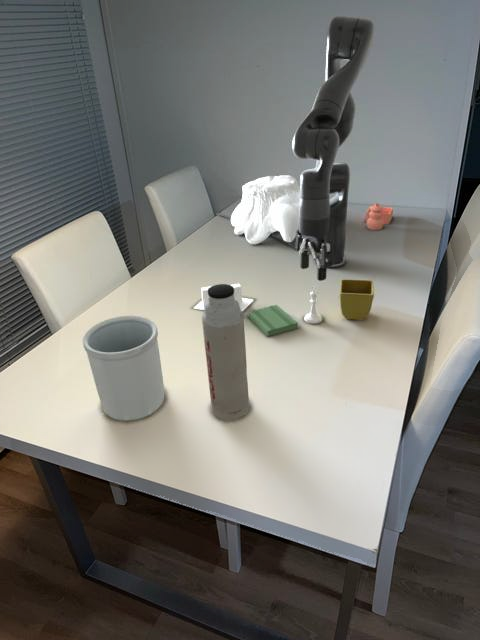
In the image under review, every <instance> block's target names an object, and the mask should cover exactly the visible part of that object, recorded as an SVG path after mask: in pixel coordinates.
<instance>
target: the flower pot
mask: <svg viewBox="0 0 480 640" xmlns="http://www.w3.org/2000/svg"><path fill="white" fill-rule="evenodd" d="M374 297H375V289H374V281H373V280H371V279H350V278H347V279H345V278H343V279H340V288H339V303H340V304H339V305H340V312H341V314H342V316H343V317H344V319H345V320H358V321H359V320H360V321H363V320H365V319H366V318H367V317H368V316H369V314H370V312H371V309H372V306H373V302H374Z"/></svg>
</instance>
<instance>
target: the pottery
mask: <svg viewBox="0 0 480 640" xmlns="http://www.w3.org/2000/svg"><path fill="white" fill-rule="evenodd" d="M393 213H394V207H391V206H390V207H389V206H382V205H380V203H379V202H374V205H370V206H369V207H368V209H367V210H366V212H365V223H366V228H367V229H368V230H373V231H379V230H382V229H383V227H384V225H389V224H390V223H391V221H392V219H393V215H394V214H393Z"/></svg>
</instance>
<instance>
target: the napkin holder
mask: <svg viewBox="0 0 480 640" xmlns="http://www.w3.org/2000/svg"><path fill="white" fill-rule="evenodd" d="M230 285H231V286H232V287H233V288H234V299H235V300H236V301H238V303H239V307H240V310H241V311H242V312H243V313H244V311H245V310H246V309H247V308H248V307H249V306H250V305H251V304H252V303H253V302H254V299H252V298H246V297H243V295H242V292H243V291H242V286H241V284H240V283H234V284H230ZM212 286H213V285H210V286H209V285H208V286H202V287H200V292H201V293H200V294H201V301H199V302H198V303H197V304H196V305H195V306H193V309H194V310H195V309H196V310H201V311H204V307H205V304H206V303H207V302H208V296H209V295H208V289H209V288H210V287H212Z"/></svg>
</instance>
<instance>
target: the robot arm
mask: <svg viewBox="0 0 480 640" xmlns="http://www.w3.org/2000/svg"><path fill="white" fill-rule="evenodd" d="M327 27H328V28H327V34H326V40H325V64H324V65H325V69H324V70H325V71H324V76H325V77H324V82H323V84H322V85H321V86H320V88H319V90H318V92H317V93H316V97H315V99H314V102H313V105H312V108H311V110H310V111H309V113H307V115H306V117H305V118H304V119H303V120H302V122H301V123H300V125H298V127H297V129H296V131H295V132H294V135H293V137H292V142H291V149H292V152H293V154H294V156H295V157H296V158H297V159H300V160H306V161H307V160H309V161H316V164H315V167H314V168H309V169H305V170H304V171H302V172H301V173H300V176H299V177H300V178H299V186H300V201H299V228H298V230H296V237H295V245H294V244H293V243H291V242H286V241H285V240H284V239H283V238H280V237H278V236H276V235H275V234H274V233H271V234H270V235H269V236H270V237H272V238H274V239H276V240H278V241H280V242H282V243H283V244H285V245H286V246H289V247H291V248H294V249H295V251H296V252H298V255H299V256H300V262H299V263H300V264H299V265H300V269H302V270H305V269H309V267H310V254H311V255H312V258H313V260H315V261H316V265H317V269H316V272H317V276H316V280H318V281H319V282H321V281H325V280H326V279H327V272H328V271H327V269H328V268H338V267H339V268H340V267H341V266H343V265H345V260H346V238H347V237H346V235H347V217H348V216H347V215H348V204H349V203H348V202H349V201H348V200H349V190H350V183H351V182H350V181H351V170H350V166H349V164H348V163H346V162H335V160H336V157H337V155H338V151H339V148H340V147H341V146H342V145H343V144H344V142H345V141H347V139H348V138H349V136H350V134H351V133H352V131H353V127H354V122H355V115H356V102H355V100H354V97H353V94H352V92H351V91H352V89H353V87H354V85H355V83H356V82H357V80H358V78H359V76H360V74H361V72H362V70H363V68H364V66H365V64H366V62H367V61H368V60H367V59H368V58H369V55H370V53H371V50H372V47H373V44H374V39H375V32H376V31H375V27H376V26H375V23H374V21H373V20H372V19H370V18H366V17H358V16H357V17H356V16H348V15H335V16H333V17H332V18H331V20H330V22H329V24H328V26H327ZM341 60H343V61H347V63H346V64H345V65H343V66H342V65H341ZM331 194H335V195H334V196H333V197H331V198H330V195H331ZM215 215H217V216H219V217H223V218H225V219H228V220H231V217H232V216H228V215H226V214H222V213H219V212H215ZM309 253H310V254H309Z"/></svg>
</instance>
